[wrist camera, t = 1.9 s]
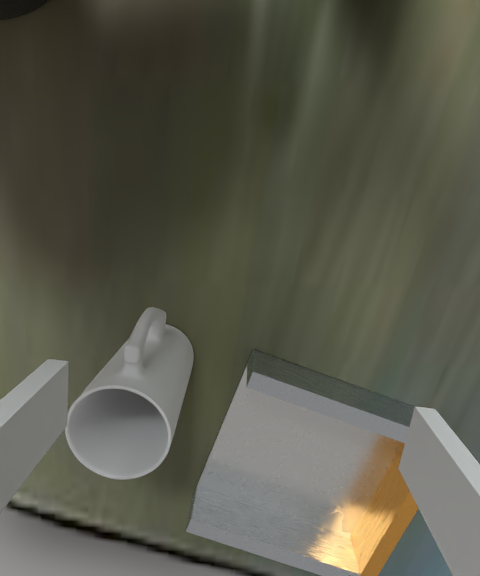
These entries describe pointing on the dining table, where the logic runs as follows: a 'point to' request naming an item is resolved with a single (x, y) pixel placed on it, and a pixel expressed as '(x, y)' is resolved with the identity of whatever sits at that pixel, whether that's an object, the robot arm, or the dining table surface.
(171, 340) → the mug
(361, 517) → the channel
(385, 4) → the dining table surface
